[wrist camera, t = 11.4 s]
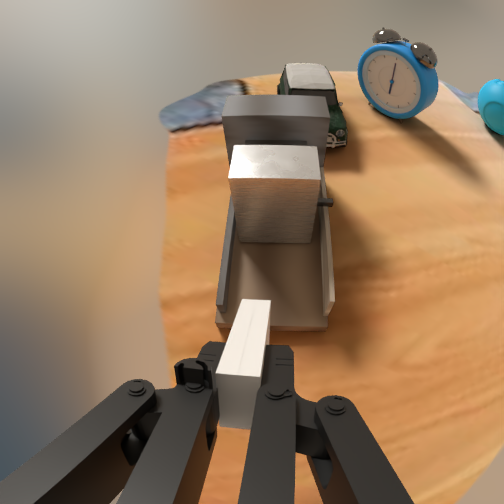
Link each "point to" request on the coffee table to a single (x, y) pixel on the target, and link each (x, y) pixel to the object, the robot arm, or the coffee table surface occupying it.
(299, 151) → the carriage
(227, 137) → the frame
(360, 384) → the coffee table surface
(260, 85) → the coffee table surface
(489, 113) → the blue round piece
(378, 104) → the alarm clock
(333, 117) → the miniature car
